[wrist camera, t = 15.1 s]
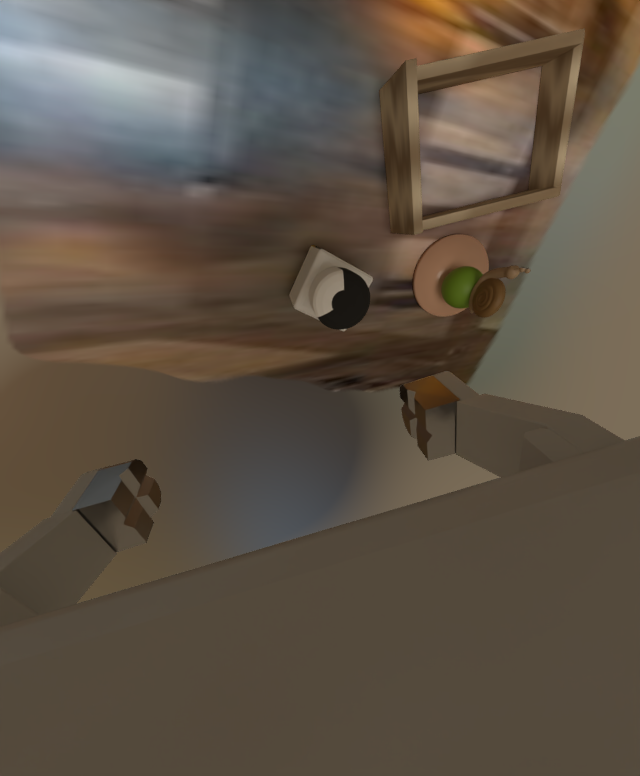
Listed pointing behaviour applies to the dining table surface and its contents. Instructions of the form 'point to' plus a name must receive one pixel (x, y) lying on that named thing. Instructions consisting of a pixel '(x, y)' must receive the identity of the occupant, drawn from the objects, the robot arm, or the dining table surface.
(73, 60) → the dining table surface
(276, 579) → the robot arm
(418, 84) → the cold frame
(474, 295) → the snail figurine
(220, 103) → the dining table surface
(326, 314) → the medicine bottle
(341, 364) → the dining table surface
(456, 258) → the tan disc
